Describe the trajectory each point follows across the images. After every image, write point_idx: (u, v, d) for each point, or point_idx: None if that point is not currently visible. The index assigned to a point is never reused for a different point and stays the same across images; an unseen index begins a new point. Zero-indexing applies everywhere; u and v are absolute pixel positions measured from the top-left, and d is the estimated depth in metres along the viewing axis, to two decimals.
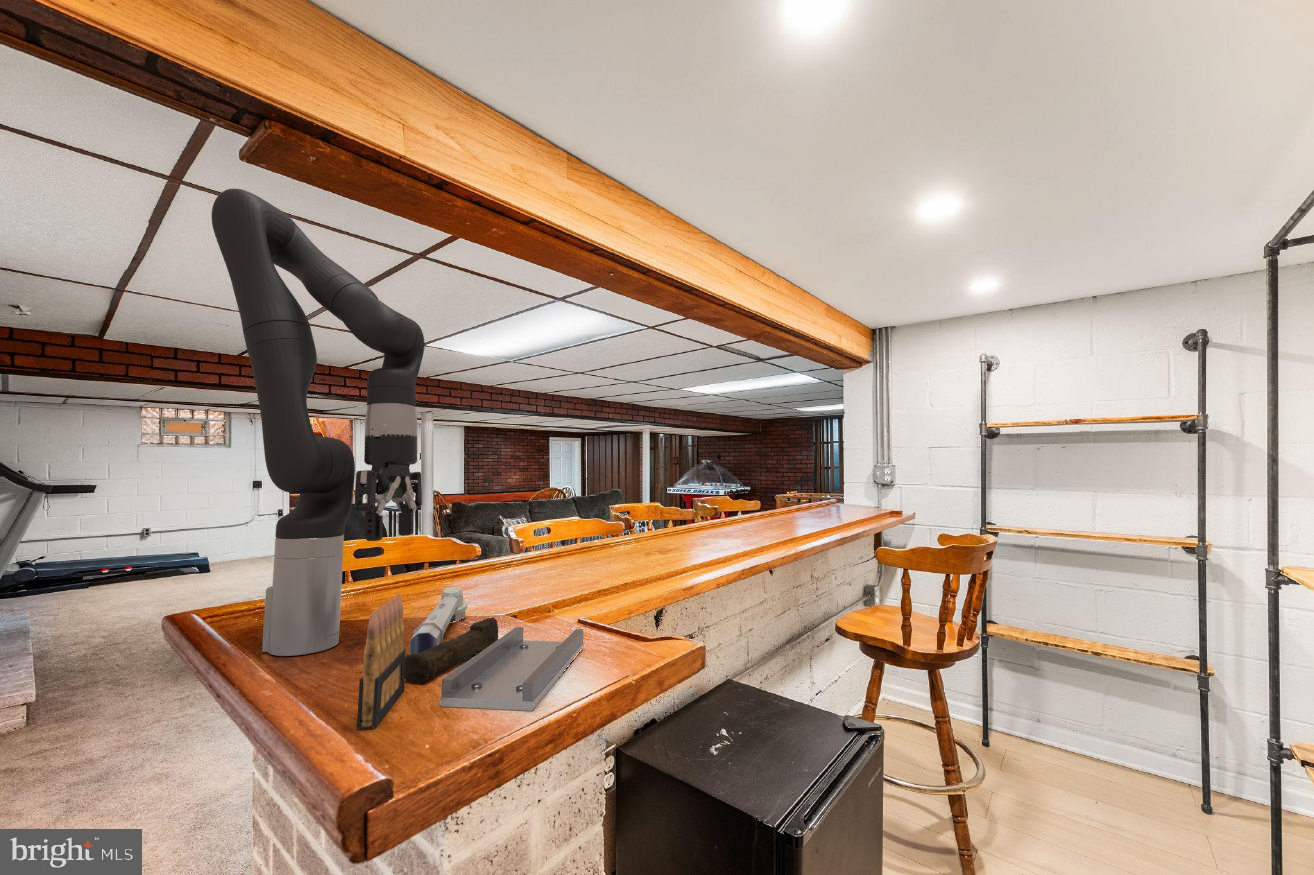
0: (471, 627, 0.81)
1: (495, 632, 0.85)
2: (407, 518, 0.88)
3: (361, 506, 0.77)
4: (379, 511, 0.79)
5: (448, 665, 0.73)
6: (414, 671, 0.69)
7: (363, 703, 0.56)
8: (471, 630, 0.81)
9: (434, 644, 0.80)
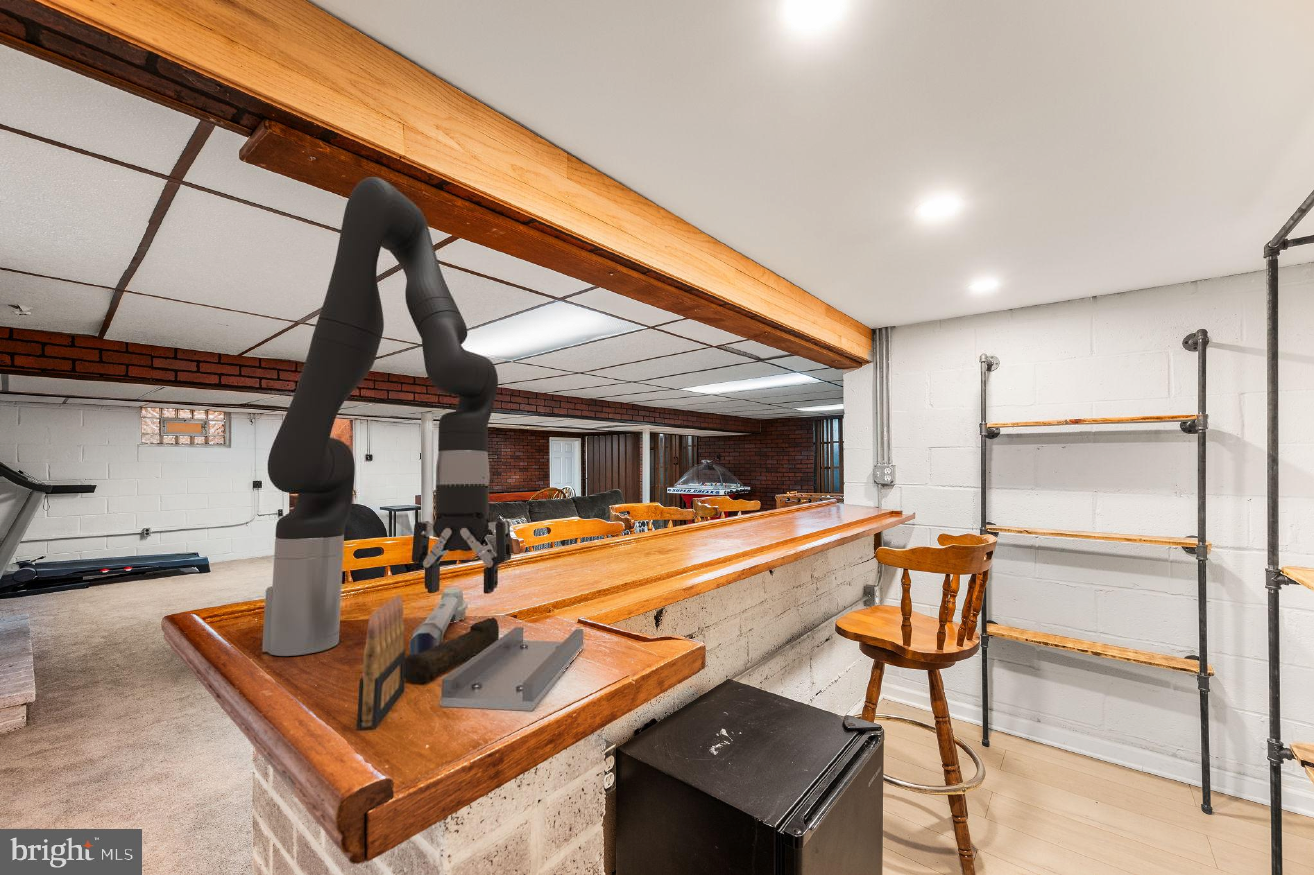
0: (471, 627, 0.81)
1: (495, 632, 0.85)
2: (437, 573, 0.80)
3: (507, 556, 0.78)
4: None
5: (448, 665, 0.73)
6: (415, 671, 0.69)
7: (363, 703, 0.56)
8: (471, 630, 0.81)
9: (434, 644, 0.80)
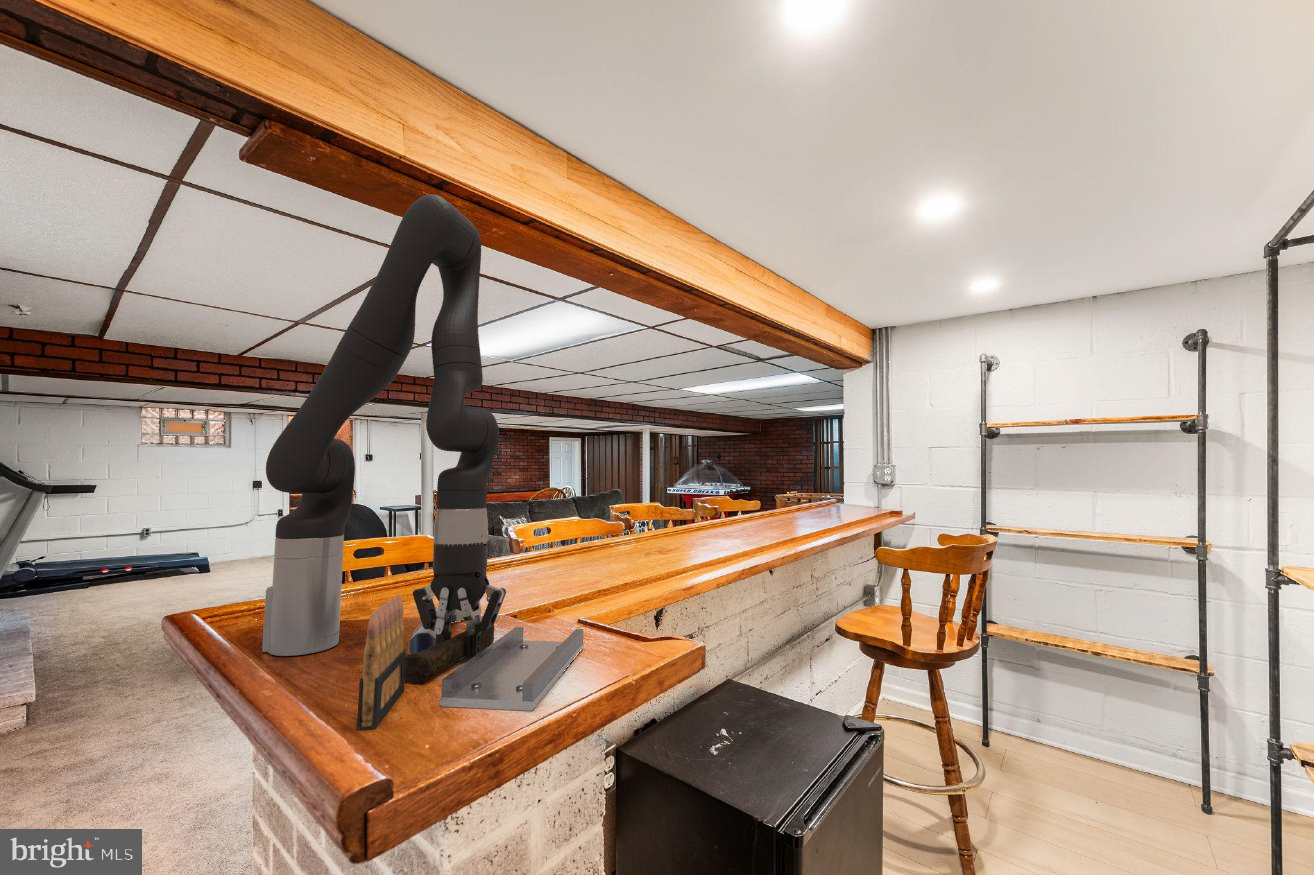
0: None
1: (491, 631, 0.85)
2: None
3: (490, 624, 0.77)
4: None
5: (447, 664, 0.73)
6: (414, 670, 0.69)
7: (363, 703, 0.56)
8: None
9: (433, 644, 0.80)
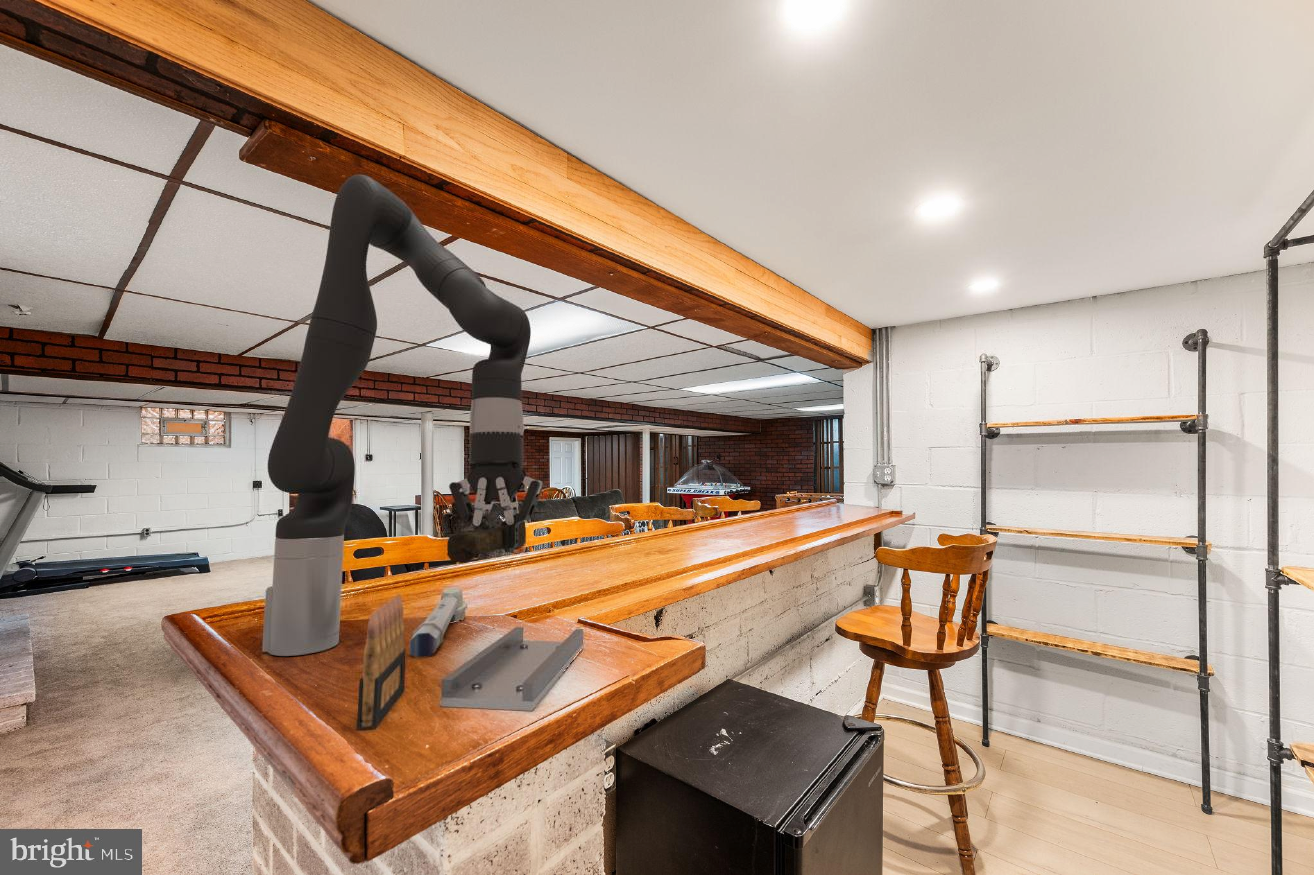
0: (503, 523, 0.81)
1: (524, 531, 0.84)
2: None
3: (528, 514, 0.77)
4: None
5: (489, 549, 0.72)
6: (460, 547, 0.68)
7: (363, 703, 0.56)
8: (503, 525, 0.80)
9: (434, 644, 0.80)
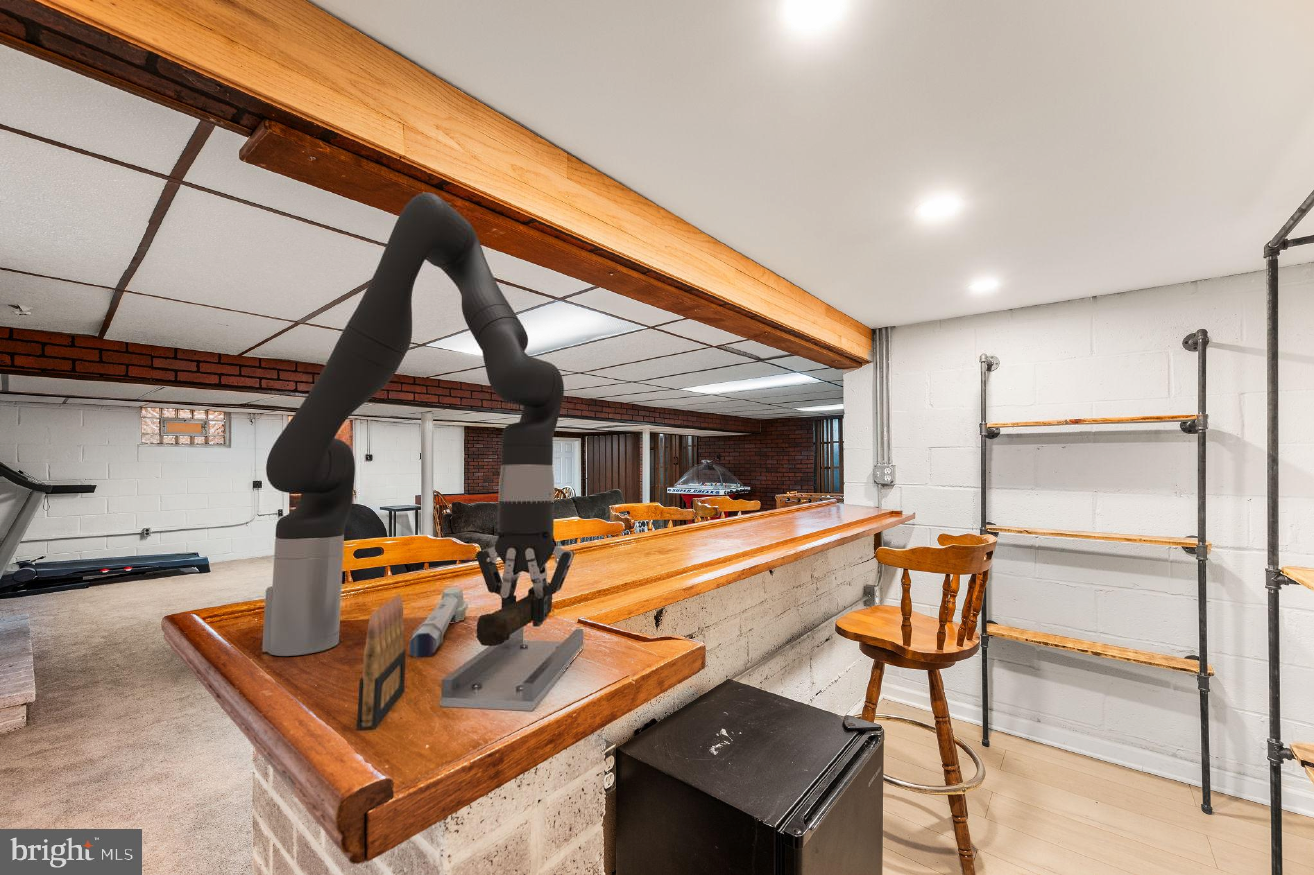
0: (530, 591, 0.77)
1: (551, 597, 0.81)
2: None
3: (558, 587, 0.73)
4: None
5: (519, 627, 0.69)
6: (491, 631, 0.64)
7: (363, 703, 0.56)
8: (531, 594, 0.77)
9: (433, 645, 0.80)
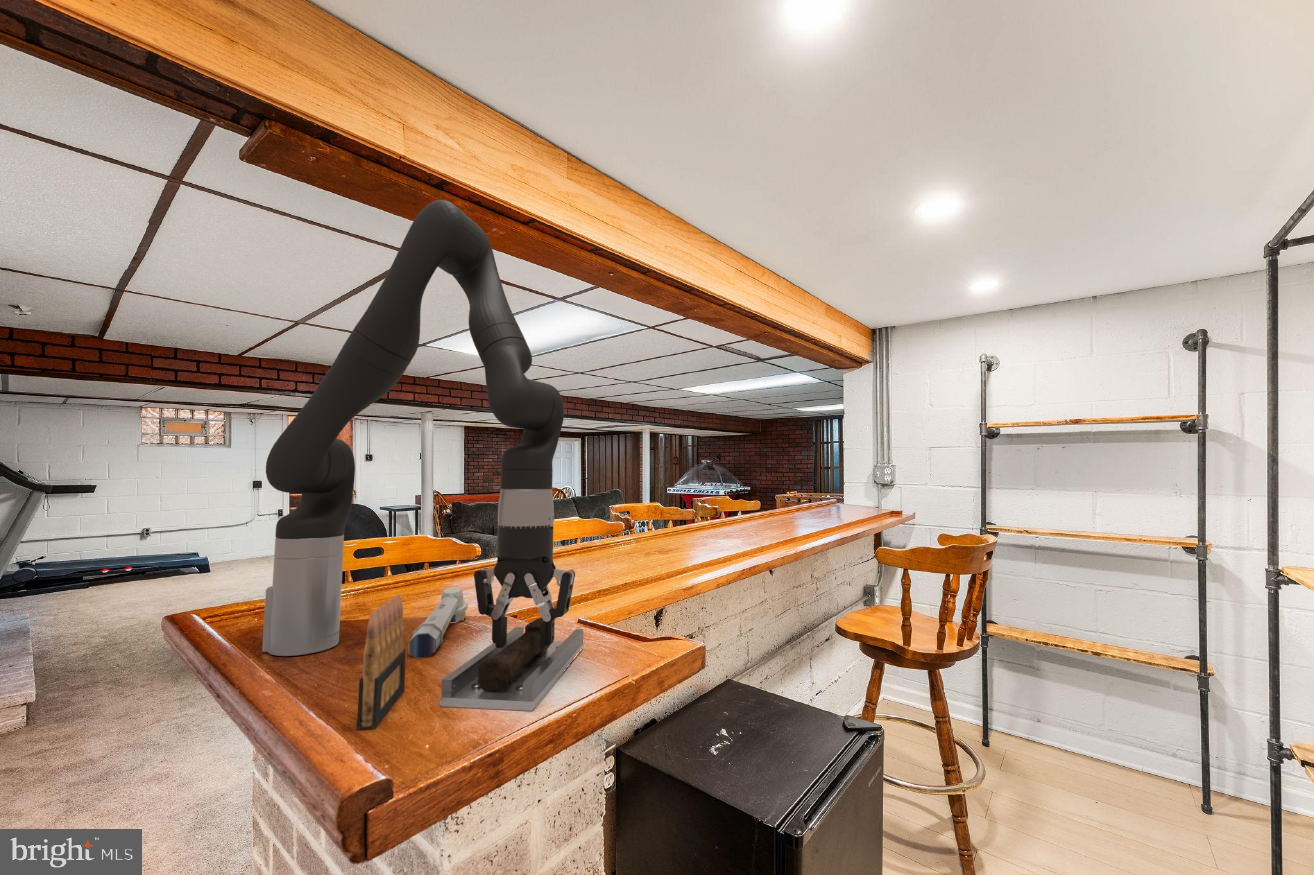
0: (527, 628, 0.76)
1: None
2: (505, 625, 0.74)
3: (565, 609, 0.72)
4: None
5: (519, 669, 0.68)
6: (493, 676, 0.63)
7: (363, 703, 0.56)
8: (528, 631, 0.76)
9: (433, 645, 0.80)
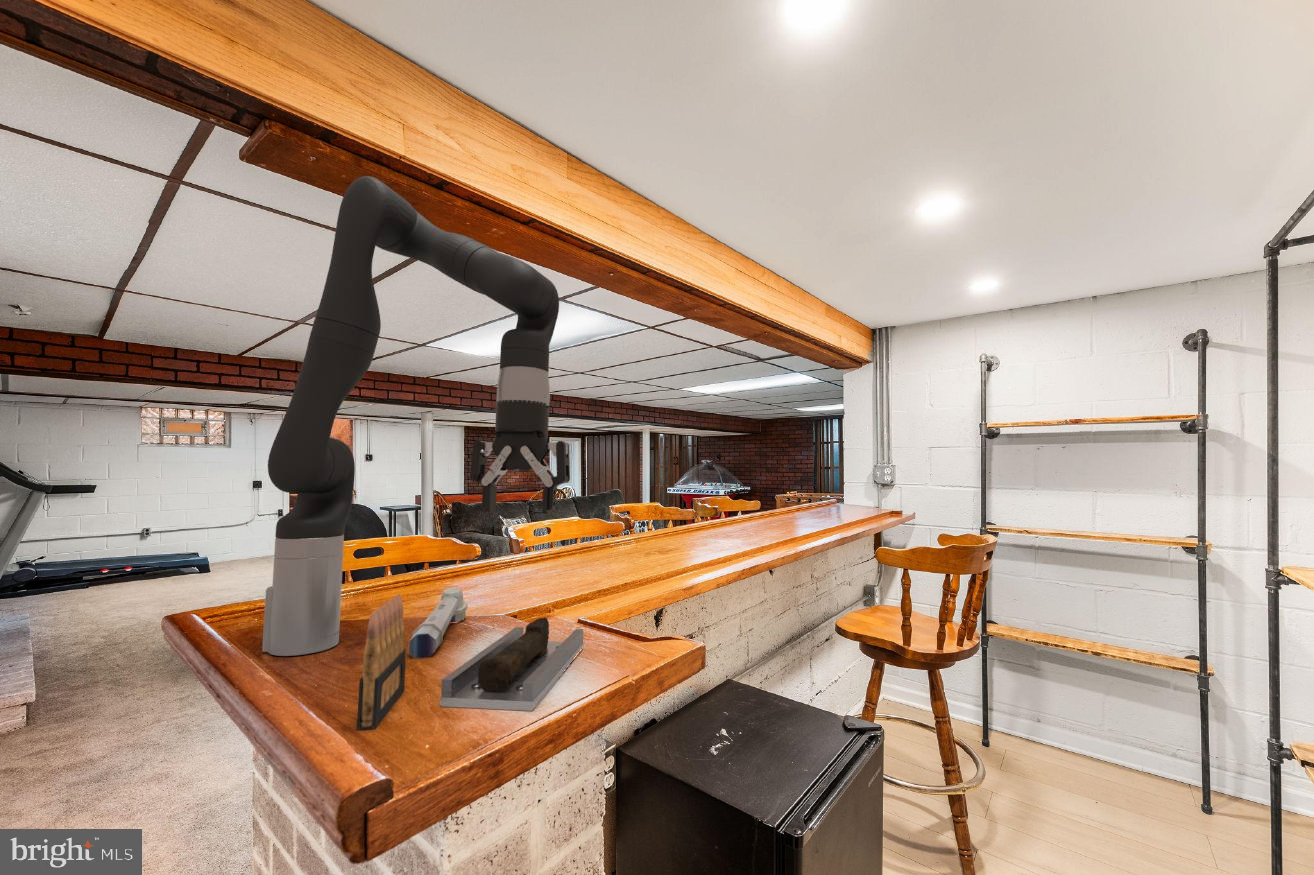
0: (528, 628, 0.76)
1: (548, 633, 0.80)
2: (494, 493, 0.79)
3: (566, 477, 0.77)
4: None
5: (519, 669, 0.68)
6: (493, 676, 0.63)
7: (363, 703, 0.56)
8: (529, 631, 0.76)
9: (433, 645, 0.79)
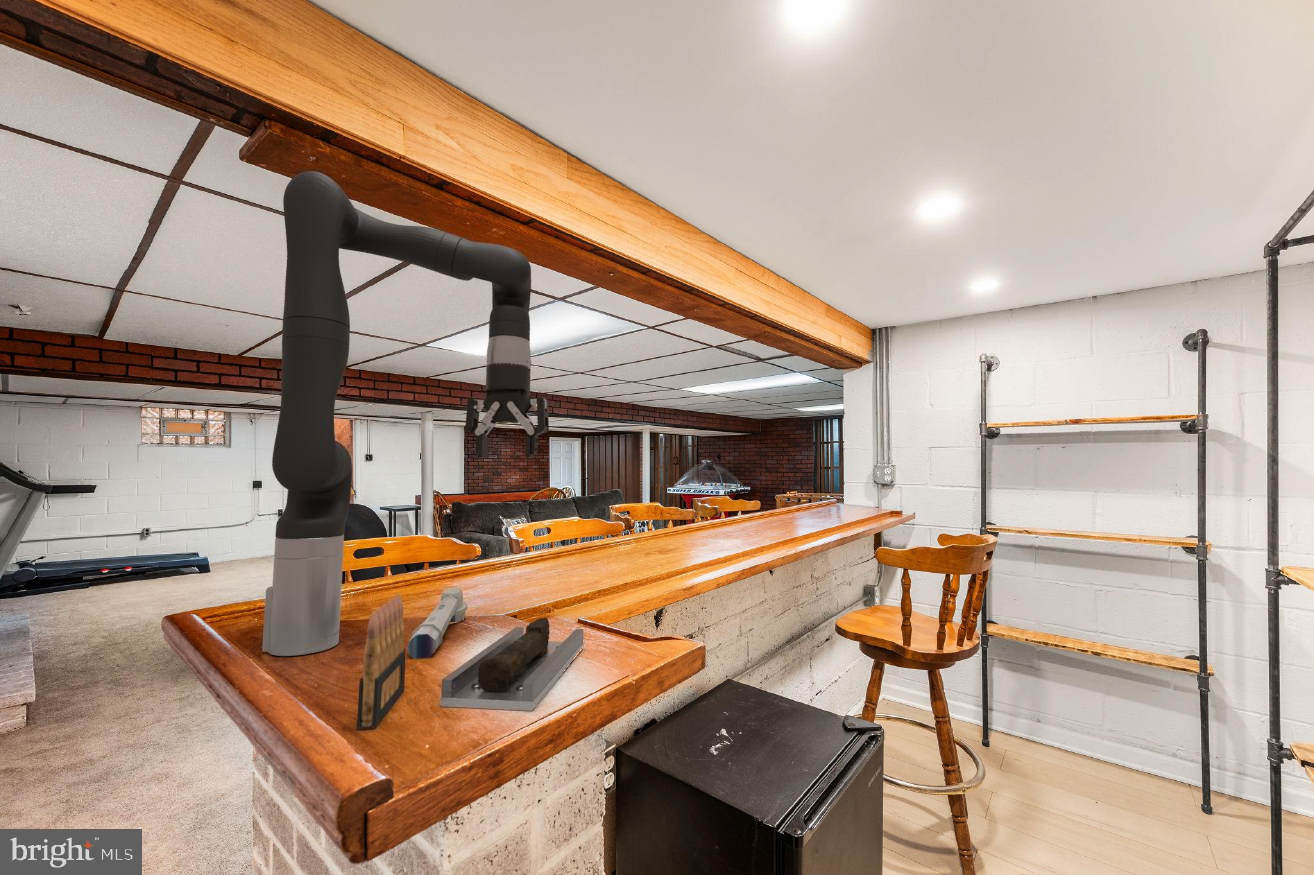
0: (528, 628, 0.76)
1: (548, 633, 0.80)
2: (486, 442, 0.94)
3: (546, 427, 0.93)
4: None
5: (520, 669, 0.68)
6: (493, 676, 0.63)
7: (363, 703, 0.56)
8: (529, 631, 0.76)
9: (433, 646, 0.79)
